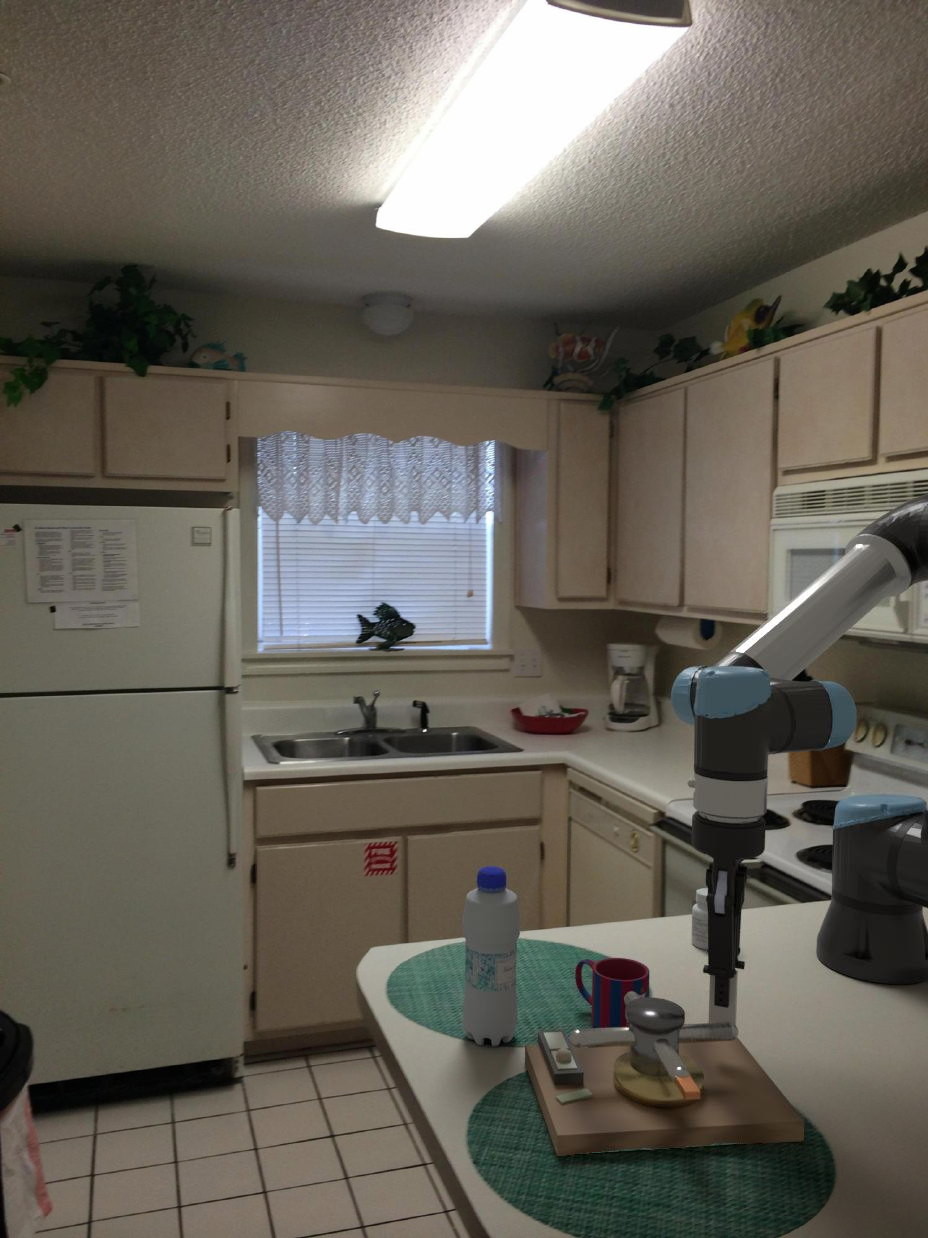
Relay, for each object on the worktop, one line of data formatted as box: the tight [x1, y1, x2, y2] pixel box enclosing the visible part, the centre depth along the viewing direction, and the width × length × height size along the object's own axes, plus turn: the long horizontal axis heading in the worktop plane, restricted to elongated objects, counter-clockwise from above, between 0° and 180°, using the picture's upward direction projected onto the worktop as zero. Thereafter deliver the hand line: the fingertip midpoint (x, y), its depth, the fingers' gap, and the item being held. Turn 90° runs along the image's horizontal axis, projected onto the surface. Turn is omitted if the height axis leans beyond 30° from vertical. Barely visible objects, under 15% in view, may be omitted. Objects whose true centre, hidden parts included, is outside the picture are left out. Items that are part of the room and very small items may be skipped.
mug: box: [574, 957, 651, 1028], centre depth 118 cm, size 7×10×7 cm
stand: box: [524, 1029, 805, 1157], centre depth 101 cm, size 24×18×4 cm
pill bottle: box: [691, 887, 708, 951], centre depth 141 cm, size 4×4×8 cm
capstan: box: [568, 991, 739, 1107], centre depth 100 cm, size 18×20×7 cm
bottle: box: [461, 865, 522, 1047], centre depth 113 cm, size 7×7×20 cm
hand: (722, 1030), depth 105 cm, fingers closed
